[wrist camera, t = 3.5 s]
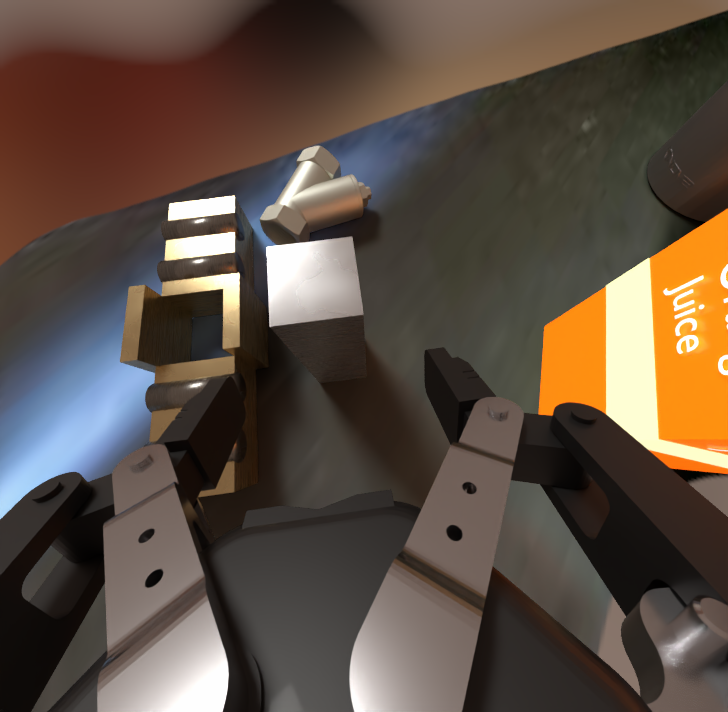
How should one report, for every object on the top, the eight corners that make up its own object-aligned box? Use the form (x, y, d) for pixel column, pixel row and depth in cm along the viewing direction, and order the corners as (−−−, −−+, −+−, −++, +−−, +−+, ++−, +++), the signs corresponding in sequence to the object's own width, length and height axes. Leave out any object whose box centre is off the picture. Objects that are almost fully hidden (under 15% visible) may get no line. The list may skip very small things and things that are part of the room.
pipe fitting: (374, 204, 26) (309, 178, 27) (378, 166, 23) (302, 137, 23) (339, 273, 24) (269, 244, 25) (337, 244, 21) (254, 211, 21)
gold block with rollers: (263, 227, 25) (238, 176, 20) (272, 480, 19) (240, 494, 14) (185, 236, 25) (141, 188, 20) (169, 495, 19) (101, 513, 14)
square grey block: (360, 333, 22) (352, 236, 11) (366, 377, 21) (363, 314, 10) (316, 339, 22) (266, 246, 11) (319, 383, 21) (269, 326, 10)
